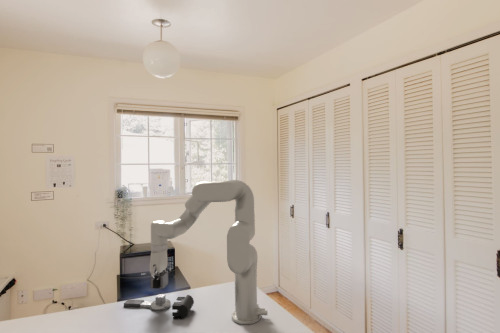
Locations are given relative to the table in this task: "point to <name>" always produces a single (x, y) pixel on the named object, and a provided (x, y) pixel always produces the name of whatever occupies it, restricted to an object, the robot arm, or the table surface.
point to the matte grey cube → (161, 279)
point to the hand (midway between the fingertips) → (159, 284)
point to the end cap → (182, 307)
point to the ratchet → (150, 303)
